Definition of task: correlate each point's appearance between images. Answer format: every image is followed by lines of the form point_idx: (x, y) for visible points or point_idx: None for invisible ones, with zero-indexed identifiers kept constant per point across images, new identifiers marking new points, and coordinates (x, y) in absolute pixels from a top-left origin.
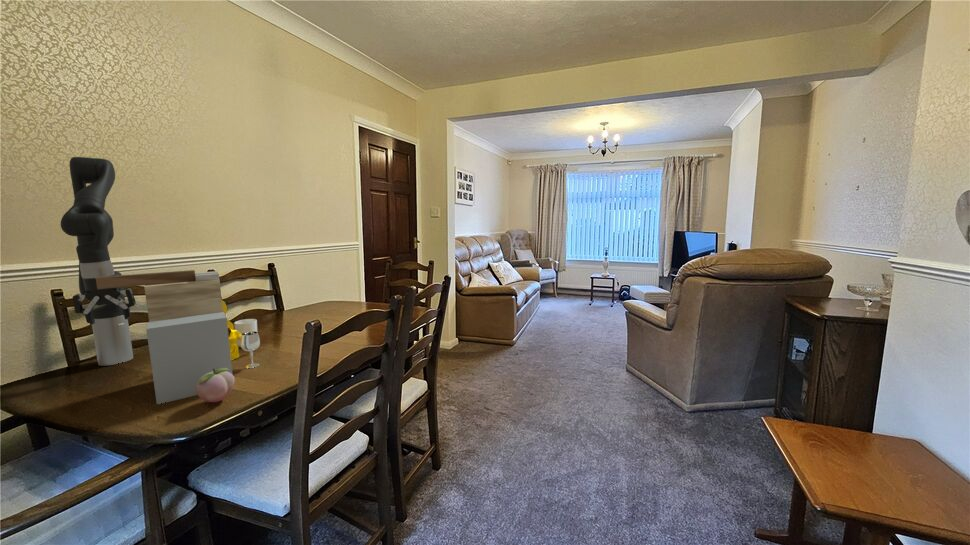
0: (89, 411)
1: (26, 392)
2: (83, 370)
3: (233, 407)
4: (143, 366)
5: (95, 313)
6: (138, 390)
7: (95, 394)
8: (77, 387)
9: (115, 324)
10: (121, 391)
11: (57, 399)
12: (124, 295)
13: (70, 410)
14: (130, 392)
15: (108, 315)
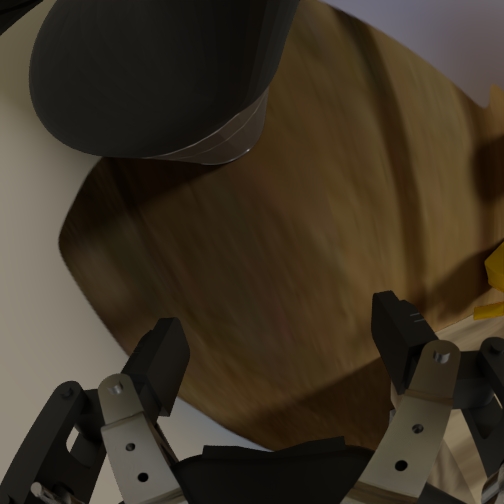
0: (305, 441)
1: (122, 317)
2: (155, 184)
3: None
4: (332, 224)
5: (81, 150)
6: (360, 394)
7: (285, 390)
8: (221, 337)
9: (231, 134)
10: (331, 391)
11: (220, 387)
12: (483, 486)
13: (274, 433)
14: (348, 399)
15: (183, 143)
